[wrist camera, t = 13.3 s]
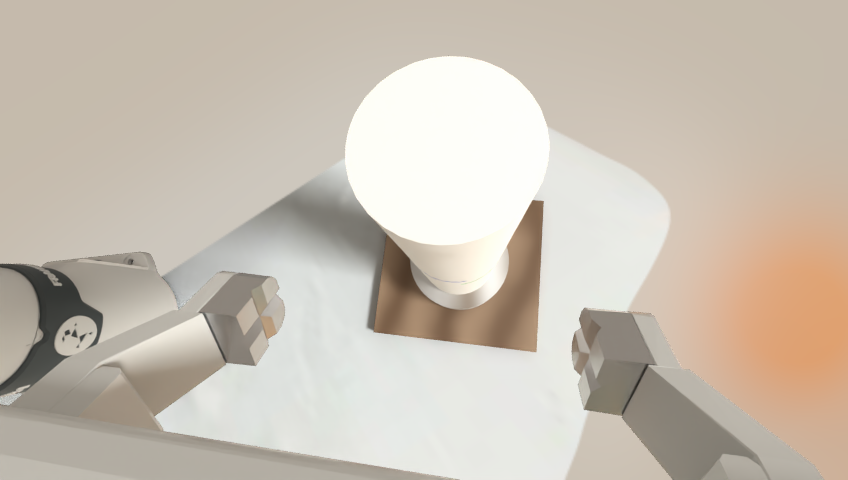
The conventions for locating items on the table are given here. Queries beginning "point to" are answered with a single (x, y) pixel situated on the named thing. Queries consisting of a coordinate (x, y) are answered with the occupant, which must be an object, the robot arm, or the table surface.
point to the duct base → (476, 323)
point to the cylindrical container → (448, 164)
